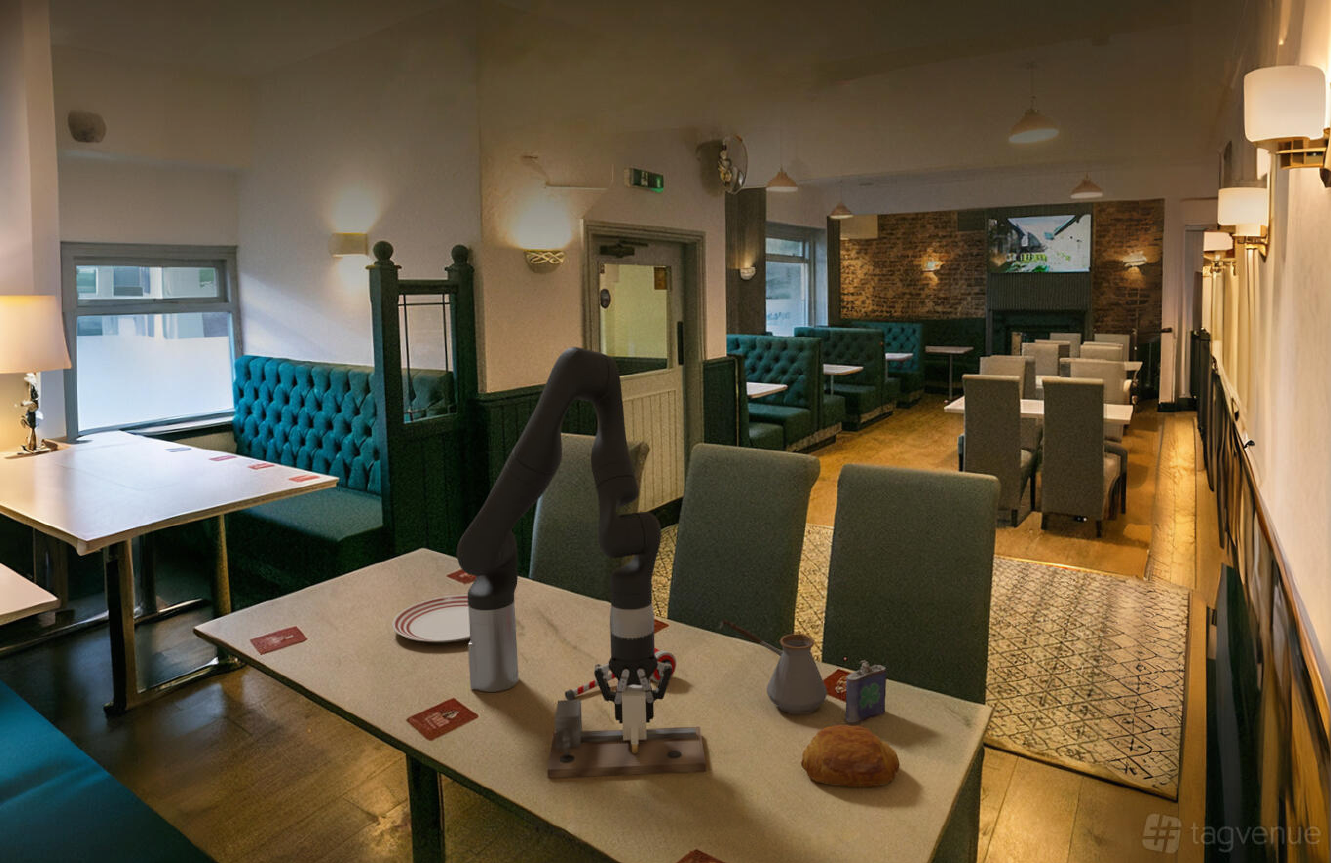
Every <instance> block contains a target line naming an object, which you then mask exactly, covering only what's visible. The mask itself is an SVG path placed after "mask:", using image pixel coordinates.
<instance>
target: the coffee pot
mask: <svg viewBox="0 0 1331 863" xmlns="http://www.w3.org/2000/svg"><path fill="white" fill-rule="evenodd" d="M723 625H725V626H729V628H730V630H735V631H736V632H737V633H739V634H740V635H741V636H743V637H745V638H747V639H748V640H751V641H752V642H755V643H757V644H759V645H761V646H763V647H765V648H766V649H767V650H770V651H771V652H773V653H774V654H776V655H778V656H780V658H779V659H778V661H777V664H776V666H775V668H774V670H773V673H772V675H771V677H770V679H769V681H768V683H767V687H766V694H767V696H768V698H769V700H770V701H771V702H772V704H774V705H775V706H776V707H777V708H778V709H779V710H781V711H783V712H785V713H788V714H793V715H794V714H795V715H803V714H809V713H812V712H814V711H815V710H816V709H817V708H819V707H820V706H821V705H822V704H824V702H825V700H826V699H827V695H828V690H827V687H826V684H825V682H824V680H823V677H822V675H821V673H820V670H819V668H818V666H817V663H816V661H815V659H814V656H813V654H812V652H811V651H812V647H814V645H815V640H814V639H813V638H812V637H809V636H808V635H805V634H802V633H800V634H799V633H798V634H796V633H795V634H788V635H785V636H782V637H780V640H779V643H780V645H781V647H782V650H781V649H779V648H777V647H775V646H773V645H771V644H769V643H768V642H765V641H763V639H761V638H760V637H758V636H756V635H755V634H753V633H752V632H750V631H748V630H747V629H745V628H742V627H740V626H738V625H736V623H734V622H733V623H731V622H730V621H729V620H727V619H724V618H722V620H721V622H720V624H719V626H718V629H721V628H722V627H723Z"/></svg>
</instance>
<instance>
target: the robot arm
mask: <svg viewBox="0 0 1331 863" xmlns="http://www.w3.org/2000/svg"><path fill="white" fill-rule="evenodd" d="M619 370H620V369H619V367H618V364H617V363H616V360H614V359H613V358H612V357H611V356H610V355H607V354H605V353H601V352H597V351H595V350H590V349H586V348H584V347H583V348H582V347H580V346H571V347H568V348H566V349H565V350H563V352H561V354H560V355H559V356H558V358H557V360H555V363H554V365H553V367H552V368H551V371H550V374H549V376H548V378H547V381H546V383H545V385H544V386H543V390H542V392H541V394H540V396H539V397H540V398H539V400H538V402H537V403H536V407H535V408H534V410H533V412H532V414H531V417H530V418H529V419H528V422H527V424H526V426H525V428H524V429H523V432H522V434H521V435H520V437H519V438H518V441H517V442H516V444H515V445H514V447H513V449H512V451H511V452H510V454H509V456H508V457H507V460H506V461H505V463H504V466H503V468H502V469H501V471H500V474H499V476H497V479H496V481H495V483H494V485H493V487H492V489H491V490H490V492H489V494H488V497H487V498H486V500H485V502H484V504H483V506H482V507H481V508H480V510H479V511H478V513H477V515H476V516H475V517H474V519H473V521H471V523H470V524H469V525H468V526H467V528H466V529H465V531H464V533H463V534H462V536H461V537H460V539H459V540H458V541H459V542H458V544H457V547H456V548H457V549H456V558H457V562H458V565H459V566H460V569H461V570H462V571H463V572H465V573H466V574H468V575H470V576H475V579H474V581H473V582H472V584H471V586H469V589H468V591H467V595H468V611H469V628H470V638H469V642H468V646H467V650H468V663H469V664H468V667H469V670H468V671H469V684H470V685H469V686H470V689H471V690H477V691H481V692H486V693H487V692H488V693H491V692H492V693H493V692H494V693H495V692H502V691H505V690H509V689H512V687H514V686H516V684H518V682H519V662H518V660H519V659H518V643H517V640H518V639H517V624H516V623H517V622H516V606H515V605H516V603H515V602H516V601H515V592H516V589H517V586H518V577H519V576H518V573H519V572H518V569H519V568H518V544H517V540H516V536H515V534H514V533H513V532H514V531H512V530H513V529H514V526H515V525H516V524H517V522H519V520H520V519H522V517H523V516H524V515H526V513H527V512H528V511H529V510H530V509H531V508H532V507H533V506H534V505H535V503H536V502H537V501H538V500H539V499H540V498H541V497H542V495H543V494H544V493H545V492H546V490H547V488H548V487H549V486H550V483H551V482H552V480H553V479H554V477H555V475H556V474H557V472H558V470H559V468H560V466H561V463H562V458H563V444H562V431H561V430H562V424H563V420H564V419H565V416H566V414H567V412H568V410H569V409H570V406H571V404H573V401H575V400H580V401H584V402H590V403H591V404H592V406H593V409H594V411H595V414H596V418H597V430H596V435H595V438H594V441H593V444H592V448H591V454H590V464H591V472H592V476H593V480H594V485H595V488H596V492H597V498H598V509H599V510H598V512H599V513H598V514H599V515H598V516H599V517H598V530H597V533H598V534H597V539H598V540H597V541H598V545H599V548H600V550H601V551H602V553H603V554H604V555H605V556H607V557H608V558H611V559H618V558H619V559H620V558H625V557H631V556H632V557H633V558H632V559H631V561H630V562H628V563H626V564H624V565H622V566H620V567H618V568H615V569H614V570H613V571H612V572H611V574H610V581H609V584H610V609H609V610H610V613H609V628H610V630H609V634H610V658H609V660H608V663H606V664H605V663H604V664H603V665H601V664H596V665H594V672H593V673H594V674H593V675H594V677H595V680H597V682H598V685H599V686H598V687H599V689H600V693H601V695H602V698H603V699H604V701H605V702H611V703H613V704H614V719H615V720H616V721H618V722H619V723H618V724H619V725H620V724H622V725H623V718H622V693H624V691H625V687H626V686H630V685H642V688H643V692H645V698H646V724H647V723H649V724H650V723H651V720H653V719H654V717H655V715H654V709H655V708H654V707H655V706H654V703H655V701H657V700H663V699H664V697H665V696H666V695H665V694H666V692H667V688H668V686H669V682H670V680H671V678H672V677H671V674H672V665H671V663H670V662H666V663H661V662H658V661H657V658H656V657H655V648H656V647H655V616H654V615H655V614H654V609H653V593H652V592H653V589H652V586H653V583H652V580H653V573H654V569H655V565H656V561H657V558H658V553H659V551H660V546H661V540H662V528H661V524H660V522H659V520H658V518H657V517H656V516H655V515H654V514H653V513H651V512H649V511H640V512H634V513H633V512H632V513H626V514H625V513H624V514H618V510H617V509H619V508H621V507H624V506H627V505H629V504H631V503H634V502H635V500H636V499H637V498H638V497H639V493H640V491H639V490H640V489H639V485H638V482H637V478H636V474H635V470H634V467H633V464H632V463H633V462H632V458H631V455H630V451H629V446H628V442H627V435H626V424H625V412H624V411H625V410H624V404H623V403H624V402H623V394H622V382H621V376H620V371H619ZM656 669H658V670H659V675H660V676H661V677H660V680H659V683H658V684H657V686H656V688H655V689H653V687H652V685H651V680H650V679H651V678H650V677H651V675H652V674H653V673H654V671H655V670H656ZM609 672H610V673H611V672H612V673H613V674H614V676H615V677H616V678H615V679H616V680H617V682H616V687H615V691H614V690H611V687H610V685H609V681H607V679H606V678H607V677H608V674H609ZM670 677H671V678H670Z"/></svg>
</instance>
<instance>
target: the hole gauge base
mask: <svg viewBox="0 0 1331 863" xmlns="http://www.w3.org/2000/svg"><path fill="white" fill-rule="evenodd" d="M554 715H555V716H554V719H555V721H554V722H555V723H554V724H555V731H554V732H553V734H552V735H553V736H552V741H551V747H550V753H549V760H548V764H547V771H546V772H547V779H551V778H552V779H553V778H554V779H555V778H556V779H557V778H578V777H601V776H602V777H604V776H625V775H626V776H629V775H649V774H650V775H652V774H673V773H674V774H679V773H698V772H699V773H700V772H701V773H702V772H703V773H704V772H706V766H707V765H706V759H705V752H704V747H703V745H704V744H703V739H702V735H701V734H702V733H701V728H700V727H701V726H682V727H681V726H680V727H678V726H677V727H654V728H653V727H652V728H646V737H647V739H642V740H638V752H637V753H633V752H632V745H631V740H623V729H607V730H605V729H604V730H583V727H582V726H583V725H582V721H583V720H582V700H581V699H573V700H568V699H566V700H565V699H564V700H563V699H561V700H557V705H556V710H555V714H554Z"/></svg>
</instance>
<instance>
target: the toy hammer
mask: <svg viewBox="0 0 1331 863" xmlns="http://www.w3.org/2000/svg"><path fill="white" fill-rule="evenodd" d="M655 657H656V658H657V661H658V662H661V663H666V662H670V663H671V665H672V674H671V677H670V679H671V678H672V677H673V676H674V673H675V672H676V668H677V660H676V657H675V655H674V654H673V653H671V652H669V651H667V650H664V649H661V650H660V649H659V648H657V647H655ZM660 677H661V676H660V675H659V670H658V669H656V670H655V671H654V673H653V674H652V675H651V677H650V678H649V679H651V681H654V682H655V683H659V680H660ZM606 679H607V682H610V681H611V680H613V679H617V678H616V677H615V676H614V674H613V673H612V672H611V671H610V672H608V677H607V678H606ZM596 687H599V685H598V682H597V680H596V679H594V680H591V681H590V682H587V683H585V684H583V685H580V686H578V687H577V688H574V689H569V690H566V691H564V696H565V699H566V700H576V699H575V698H576V697H578V696H580V695H582V694H584V693H586V692H588V691H590V690H592V689H595V688H596Z"/></svg>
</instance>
